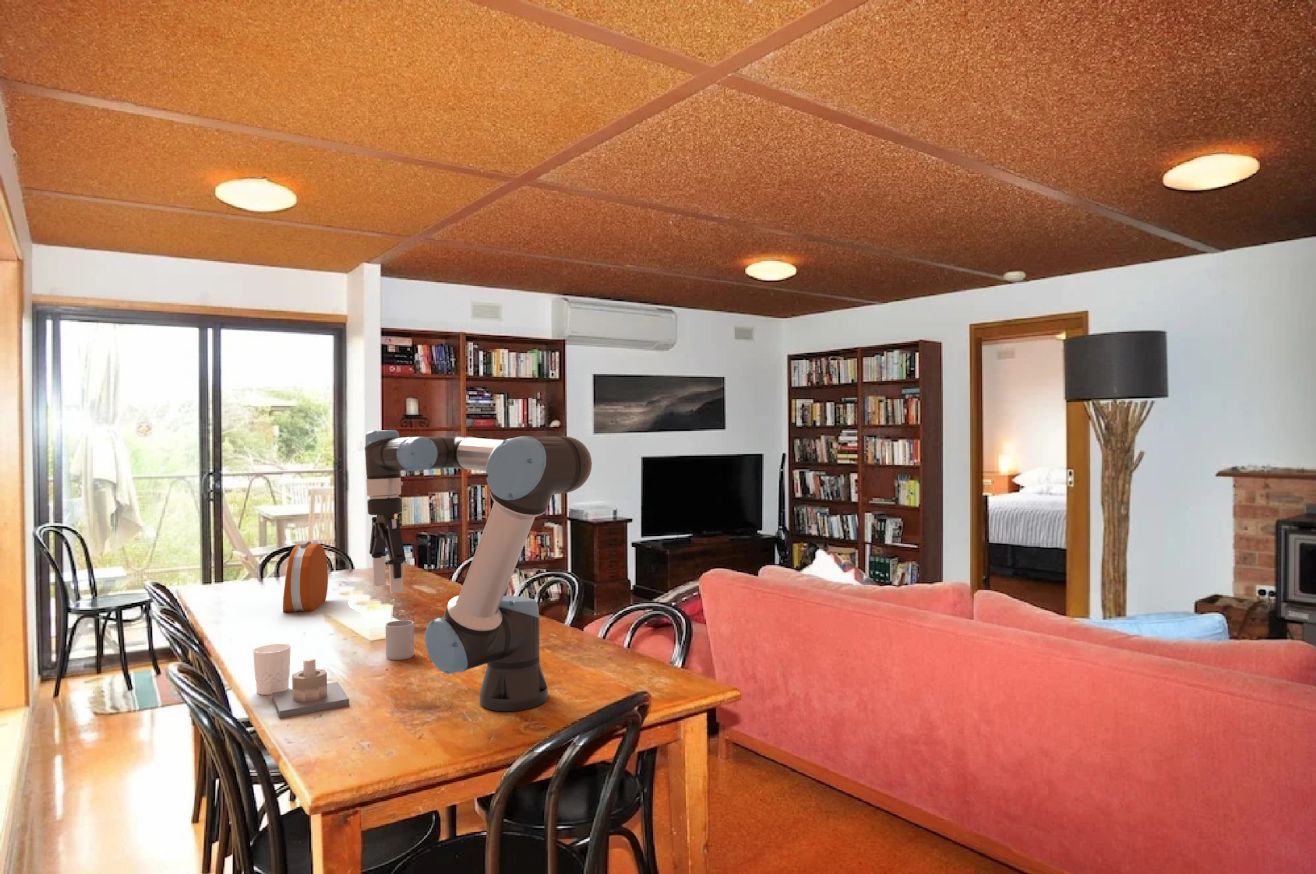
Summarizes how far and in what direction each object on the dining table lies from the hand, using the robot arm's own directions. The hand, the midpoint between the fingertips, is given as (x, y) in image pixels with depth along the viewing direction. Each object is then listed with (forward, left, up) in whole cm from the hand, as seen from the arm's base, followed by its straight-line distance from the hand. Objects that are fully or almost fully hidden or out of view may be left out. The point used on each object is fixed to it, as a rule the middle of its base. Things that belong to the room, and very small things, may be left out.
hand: (388, 589), depth 184 cm
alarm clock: (+110, +4, -24) cm, 112 cm away
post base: (+4, +17, -24) cm, 30 cm away
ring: (+4, +17, -23) cm, 28 cm away
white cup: (+18, +23, -24) cm, 38 cm away
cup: (+31, -9, -24) cm, 40 cm away
